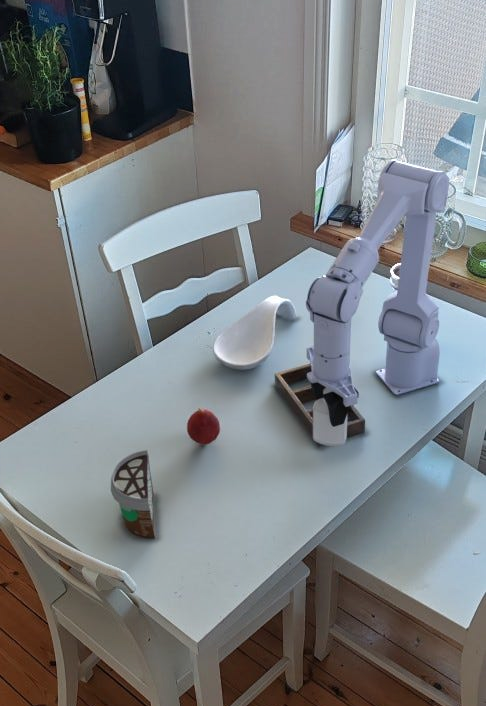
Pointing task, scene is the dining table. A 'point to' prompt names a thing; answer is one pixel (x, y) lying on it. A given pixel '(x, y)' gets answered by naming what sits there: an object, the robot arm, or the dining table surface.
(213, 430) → the onion
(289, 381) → the spice rack
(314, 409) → the eye dropper bottle
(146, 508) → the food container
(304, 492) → the dining table surface
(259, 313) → the spoon rest
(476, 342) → the dining table surface
